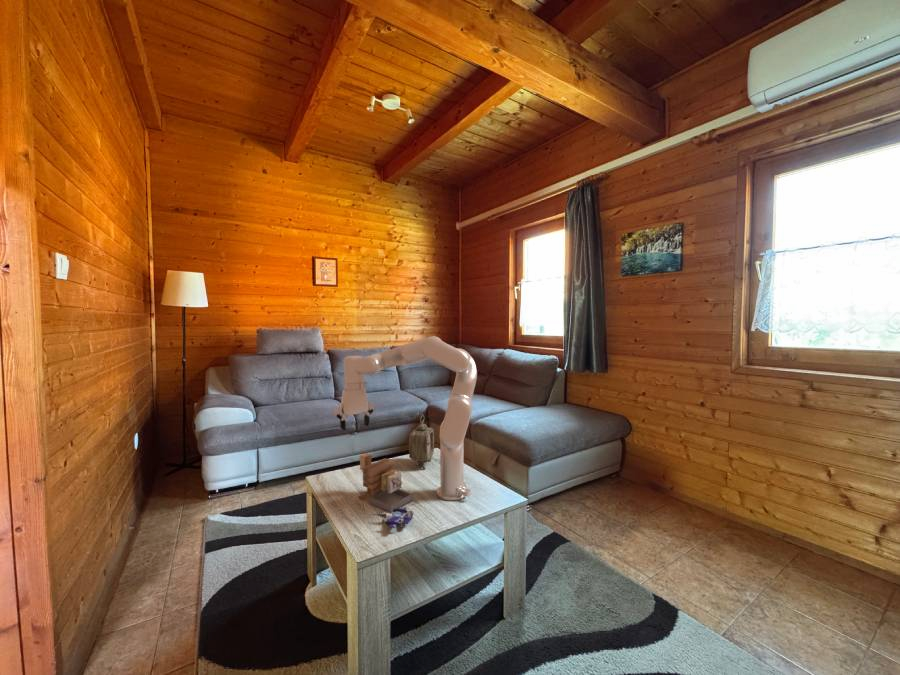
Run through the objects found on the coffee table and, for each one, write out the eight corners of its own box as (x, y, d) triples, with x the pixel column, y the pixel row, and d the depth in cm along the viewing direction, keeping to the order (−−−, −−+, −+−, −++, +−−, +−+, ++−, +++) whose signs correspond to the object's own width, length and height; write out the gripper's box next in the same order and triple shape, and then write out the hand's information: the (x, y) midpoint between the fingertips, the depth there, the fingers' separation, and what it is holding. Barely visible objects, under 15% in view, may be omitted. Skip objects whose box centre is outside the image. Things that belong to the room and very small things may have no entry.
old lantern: (426, 471, 172) (426, 419, 171) (408, 469, 174) (408, 418, 173) (434, 460, 186) (433, 411, 185) (417, 458, 188) (416, 410, 187)
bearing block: (394, 492, 151) (393, 460, 150) (371, 504, 141) (371, 470, 141) (380, 487, 156) (379, 456, 155) (357, 498, 146) (357, 465, 146)
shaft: (403, 483, 141) (403, 464, 141) (396, 487, 139) (396, 467, 138) (366, 470, 154) (366, 452, 154) (360, 473, 152) (359, 455, 151)
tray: (413, 500, 144) (413, 494, 144) (390, 513, 135) (390, 506, 135) (392, 492, 152) (392, 486, 151) (369, 503, 142) (369, 497, 142)
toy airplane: (368, 520, 130) (368, 511, 130) (404, 510, 137) (404, 501, 137) (381, 539, 119) (381, 529, 119) (419, 527, 126) (419, 517, 126)
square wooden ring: (401, 487, 144) (401, 472, 144) (390, 493, 139) (389, 478, 139) (398, 486, 145) (398, 471, 144) (387, 492, 140) (387, 477, 140)
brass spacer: (395, 485, 146) (394, 470, 146) (383, 490, 141) (383, 475, 141) (392, 484, 147) (392, 469, 146) (381, 489, 142) (381, 474, 142)
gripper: (370, 382, 156) (371, 422, 157) (330, 387, 147) (331, 429, 148) (377, 385, 150) (378, 426, 151) (335, 390, 141) (336, 433, 141)
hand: (355, 427), depth 149 cm, fingers open, 9 cm apart
